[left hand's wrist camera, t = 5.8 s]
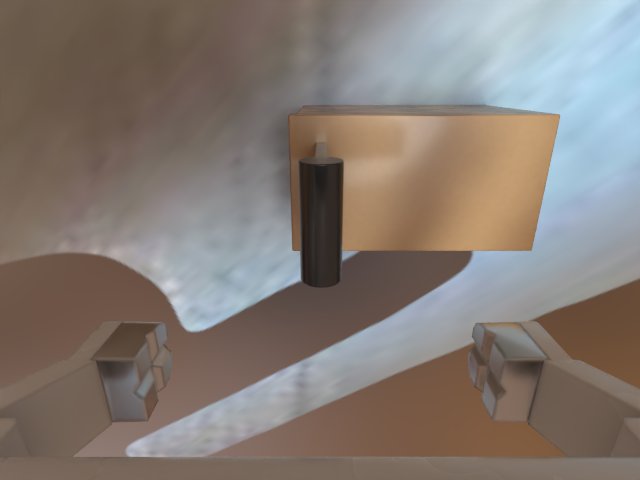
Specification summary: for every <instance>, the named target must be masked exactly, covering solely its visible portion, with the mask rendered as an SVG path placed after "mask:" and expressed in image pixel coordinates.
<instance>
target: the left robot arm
mask: <svg viewBox="0 0 640 480" xmlns="http://www.w3.org/2000/svg"><path fill="white" fill-rule="evenodd" d="M167 338H168V334H167V329H166V325H165V324H164V323H162V322H104V323H101V324H100V325H99V327H98V328H97V329H96V330H95V331H94V332H93V333H92V334H91V335H90V336H89V337H88V338H87V340H86V341H85V342H84V343H83V344H82V345H81V346H80V347H79V348H78V349H77V350H76V351H75V352H74V354H73V355H72V356H71V357H70V358H69V359H68V360H60V361H58V362H56V363H54V364H52V365H50V366H48V367H46V368H44V369H42V370H39V371H37V372H35V373H33V374H31V375H29V376H27V377H25V378H23V379H21V380H19V381H17V382H14V383H12V384H10V385H8V386H6V387H4V388H2V389H0V480H640V389H638V388H636V387H634V386H632V385H630V384H628V383H625V382H623V381H621V380H619V379H617V378H615V377H613V376H611V375H609V374H607V373H605V372H603V371H600V370H598V369H596V368H594V367H592V366H590V365H588V364H586V363H584V362H582V361H580V360H572V359H571V358H570V357H569V356H568V355H567V354H566V352H565V351H564V350H563V349H562V348H561V347H560V346H559V345H558V344H557V343H556V342H555V340H554V339H553V338H552V337H551V336H550V335H549V334H548V333H547V332H546V331H545V330H544V329H543V327H542V326H541V325H540V324H539V323H537V322H534V321H529V322H502V323H476V324H475V326H474V328H473V333H472V338H473V339H474V341H475V343H476V345H475V346H474V347H473V348H472V349H471V350H470V351H469V358H468V367H469V374H470V377H471V380H472V383H473V384H474V387H475V388H477V389H478V390H479V391H481V392H482V393H483V395H482V402H483V404H484V406H485V408H486V410H487V412H488V414H489V416H490V418H491V420H492V421H498V422H528V424H529V425H530V426H531V427H532V428H533V429H535V430H536V431H537V432H538V433H539V434H541V435H542V436H543V437H544V438H546V439H547V440H548V441H549V442H550V443H552V444H553V445H554V446H555V447H557V448H558V449H559V450H560V451H561V452H563V453H564V454H565V455H566V456H568V457H73V456H74V455H75V454H76V453H77V452H79V451H80V450H81V449H82V448H84V447H85V446H86V445H87V444H88V443H90V442H91V441H92V440H93V439H94V438H96V437H97V436H98V435H99V434H101V433H102V432H103V431H104V430H106V429H107V428H108V427H109V426H110V425H112V422H140V421H148V420H149V418H150V416H151V414H152V412H153V410H154V408H155V406H156V404H157V402H158V395H157V393H158V392H159V391H160V390H162V389H163V388H165V387H166V385H167V382H168V380H169V377H170V373H171V368H172V357H171V351H170V350H169V349H168V348H167V347H166V346H165V345H164V343H165V341H166V339H167Z"/></svg>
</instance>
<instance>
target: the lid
mask: <svg viewBox="0 0 640 480" xmlns="http://www.w3.org/2000/svg"><path fill="white" fill-rule="evenodd" d="M559 119H560V115H559V114H551V113H444V114H290V115H289V150H290V183H291V216H292V249H293V251H300V255H301V280H302V281H303V282H304V283H305V284H307V285H309V286H312V287H330V286H334V285H336V284H338V283H339V282H340V281H341V279H342V251H531V250H532V246H533V241H534V237H535V232H536V227H537V222H538V218H539V213H540V208H541V204H542V199H543V194H544V189H545V185H546V180H547V175H548V171H549V166H550V161H551V157H552V152H553V147H554V142H555V138H556V133H557V128H558V124H559Z"/></svg>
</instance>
